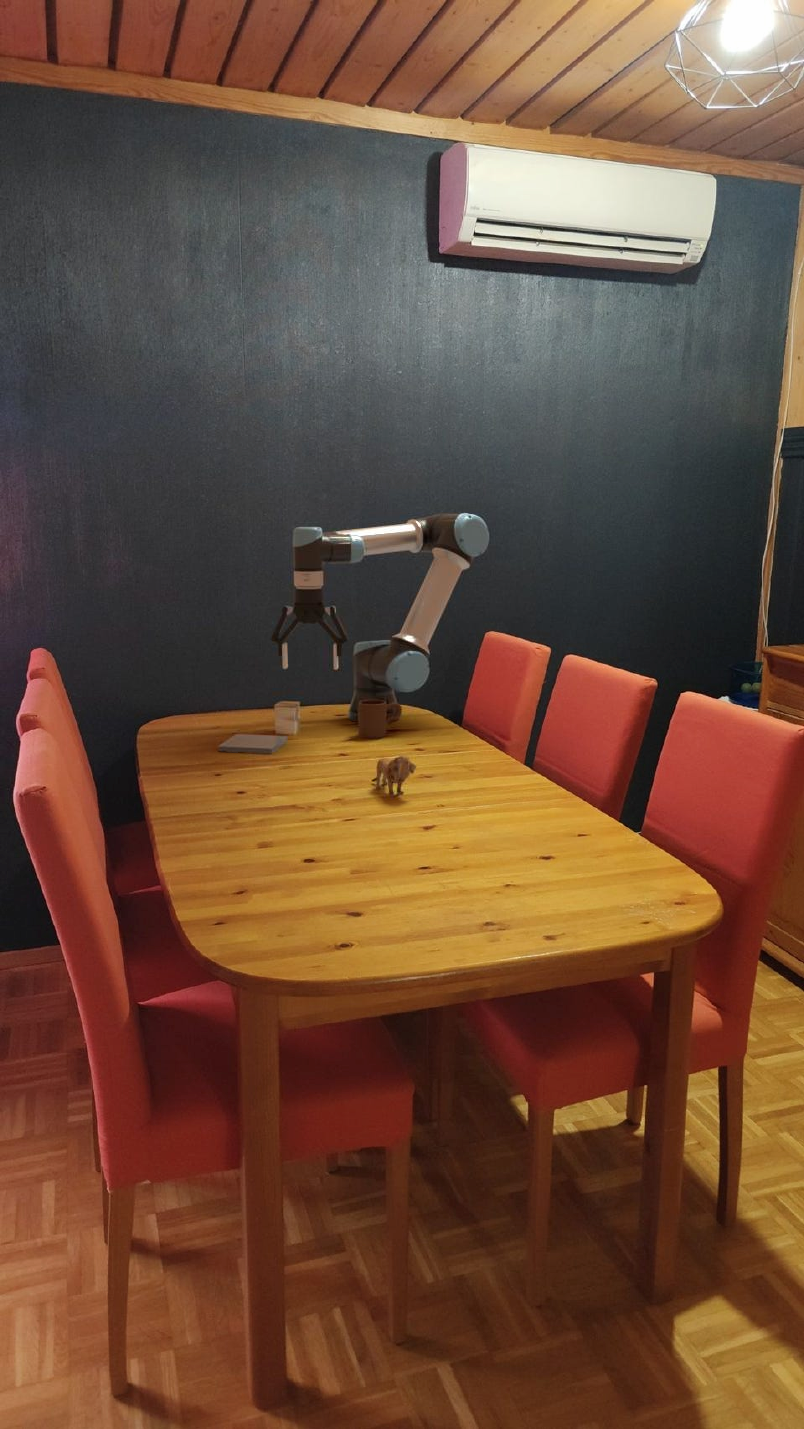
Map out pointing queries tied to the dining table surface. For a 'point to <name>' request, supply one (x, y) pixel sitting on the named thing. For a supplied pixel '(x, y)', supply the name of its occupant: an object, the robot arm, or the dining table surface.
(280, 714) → the oak block
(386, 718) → the mug
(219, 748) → the slate board
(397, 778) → the lion figurine
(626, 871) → the dining table surface
